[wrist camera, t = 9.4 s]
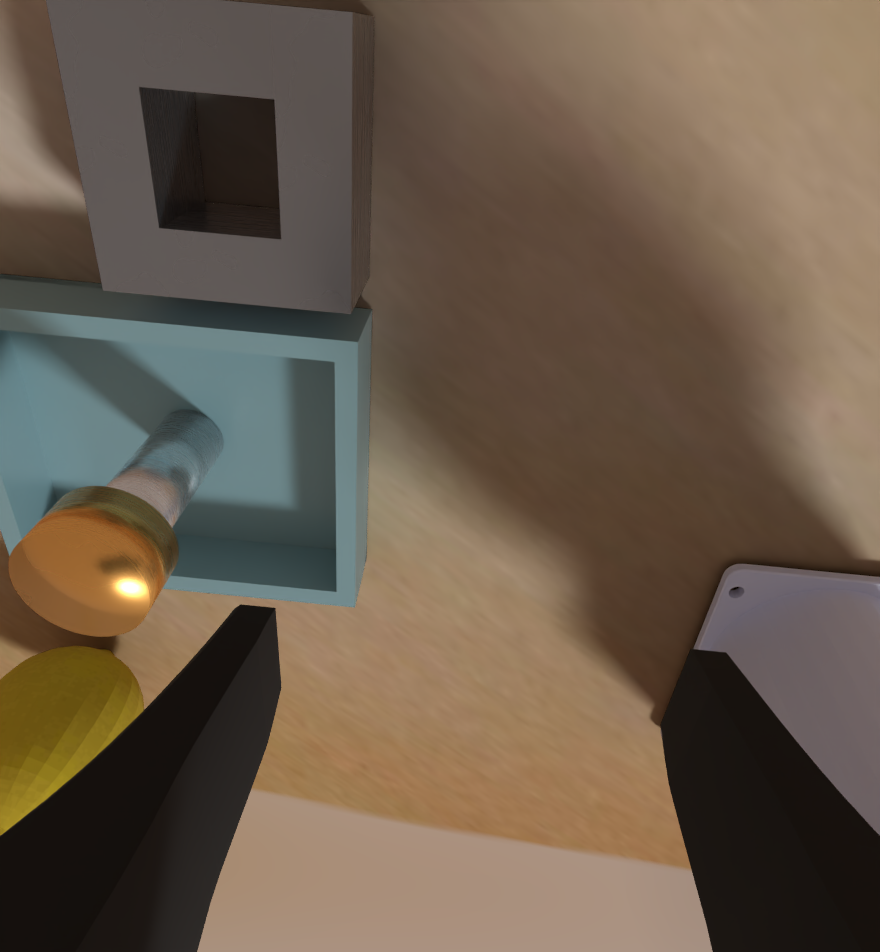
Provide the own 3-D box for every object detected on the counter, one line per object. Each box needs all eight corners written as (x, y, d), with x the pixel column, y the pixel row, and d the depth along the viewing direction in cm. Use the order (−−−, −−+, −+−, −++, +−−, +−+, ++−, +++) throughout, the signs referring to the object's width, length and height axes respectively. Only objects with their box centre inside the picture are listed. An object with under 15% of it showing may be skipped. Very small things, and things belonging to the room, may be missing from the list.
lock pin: (246, 484, 22) (158, 643, 16) (150, 474, 22) (27, 629, 16) (238, 396, 21) (136, 539, 15) (134, 386, 21) (-9, 524, 15)
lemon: (176, 620, 27) (71, 816, 20) (172, 708, 30) (80, 904, 23) (33, 589, 26) (-125, 779, 19) (44, 682, 29) (-90, 875, 22)
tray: (366, 558, 24) (355, 607, 22) (56, 528, 24) (15, 574, 22) (372, 309, 19) (357, 342, 17) (-18, 272, 19) (-80, 300, 17)
